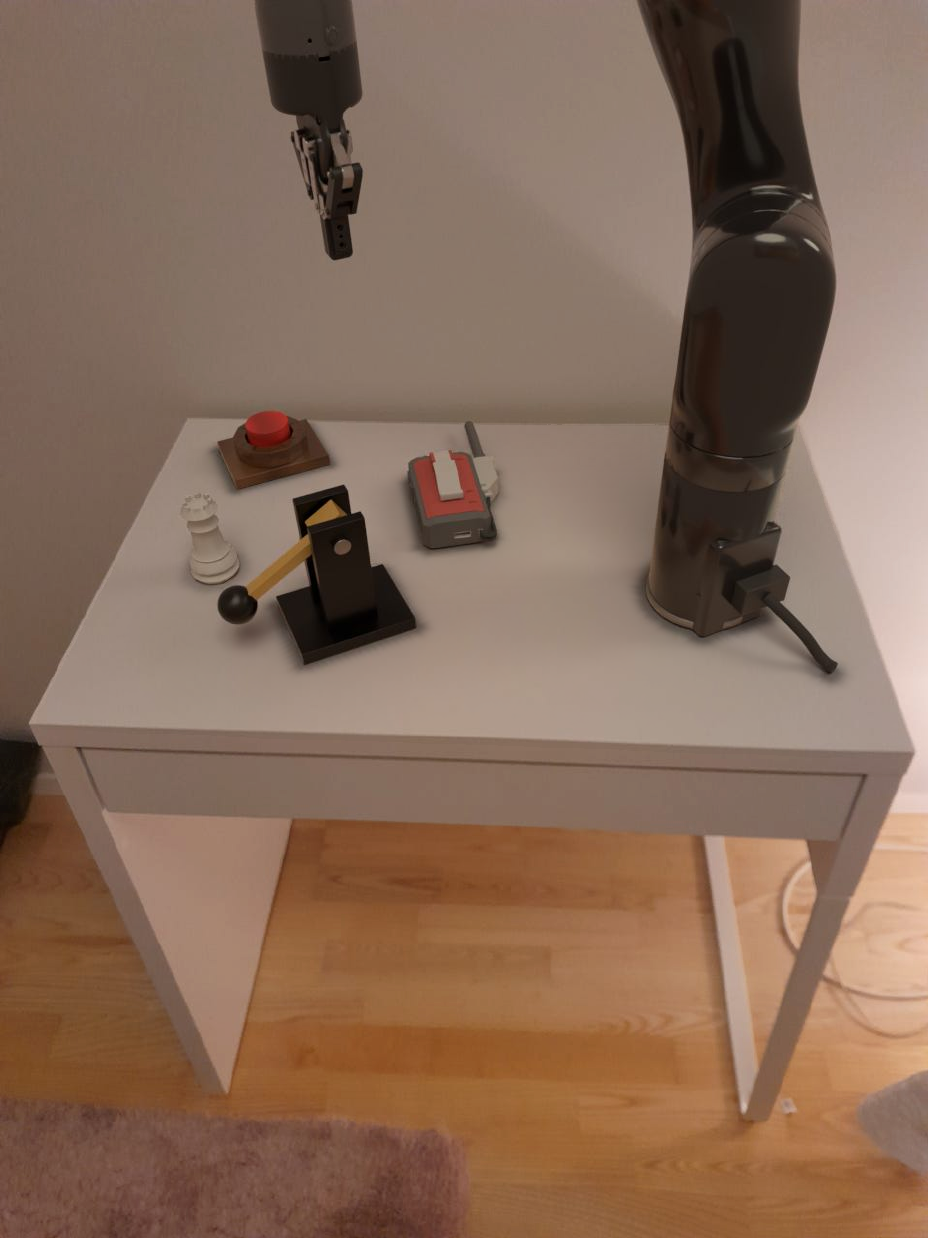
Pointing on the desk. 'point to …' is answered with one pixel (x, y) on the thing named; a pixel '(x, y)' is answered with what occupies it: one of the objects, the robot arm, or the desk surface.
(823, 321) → the robot arm
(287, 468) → the block
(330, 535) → the black lever base
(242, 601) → the lever
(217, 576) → the rook chess piece
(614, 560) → the desk surface
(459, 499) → the walkie-talkie
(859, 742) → the desk surface
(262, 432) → the button
